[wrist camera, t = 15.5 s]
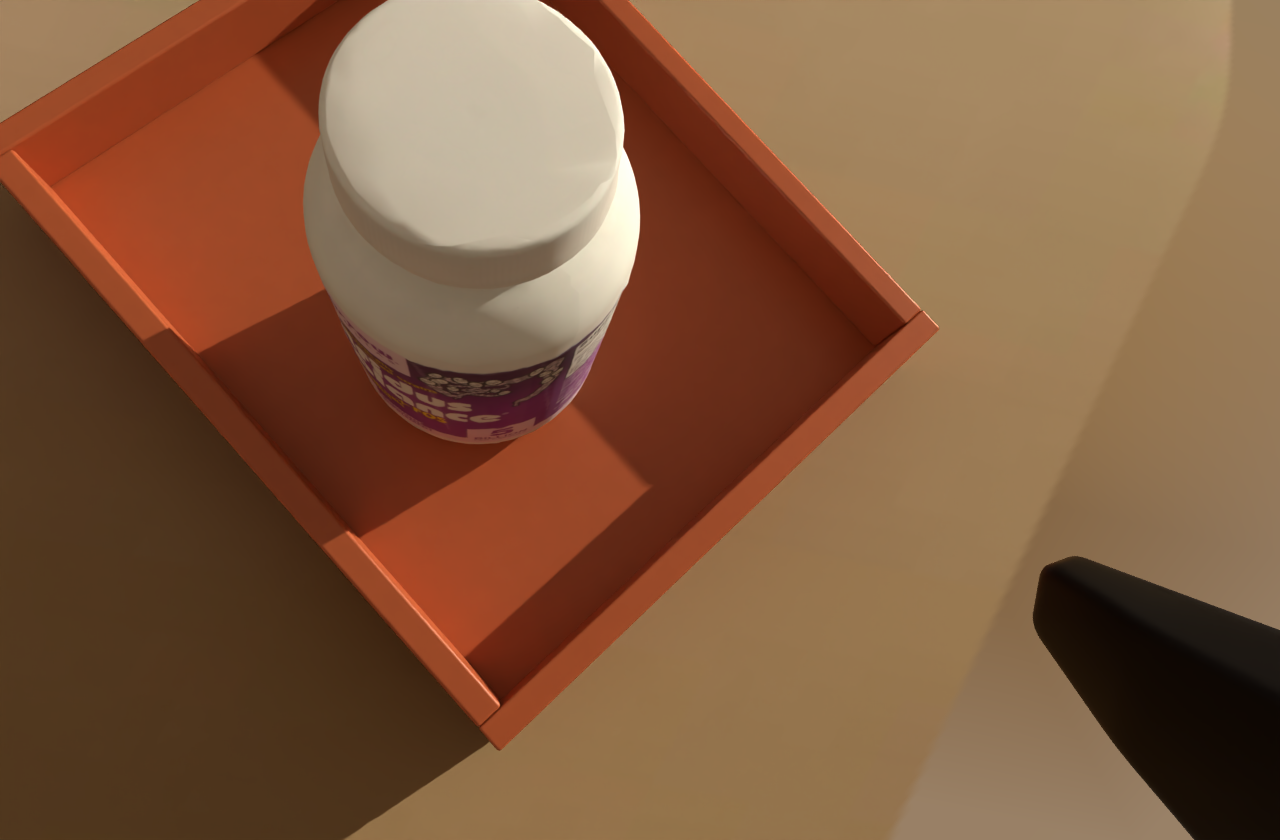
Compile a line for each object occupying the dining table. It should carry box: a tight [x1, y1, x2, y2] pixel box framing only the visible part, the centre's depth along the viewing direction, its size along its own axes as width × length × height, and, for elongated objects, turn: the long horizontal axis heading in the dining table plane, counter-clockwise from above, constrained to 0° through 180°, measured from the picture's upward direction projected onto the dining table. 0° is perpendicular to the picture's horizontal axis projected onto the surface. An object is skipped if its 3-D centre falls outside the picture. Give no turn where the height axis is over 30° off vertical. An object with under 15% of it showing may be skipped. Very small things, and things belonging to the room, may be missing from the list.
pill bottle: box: [303, 0, 640, 444], centre depth 17 cm, size 5×5×10 cm
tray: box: [0, 0, 939, 751], centre depth 21 cm, size 16×13×3 cm
